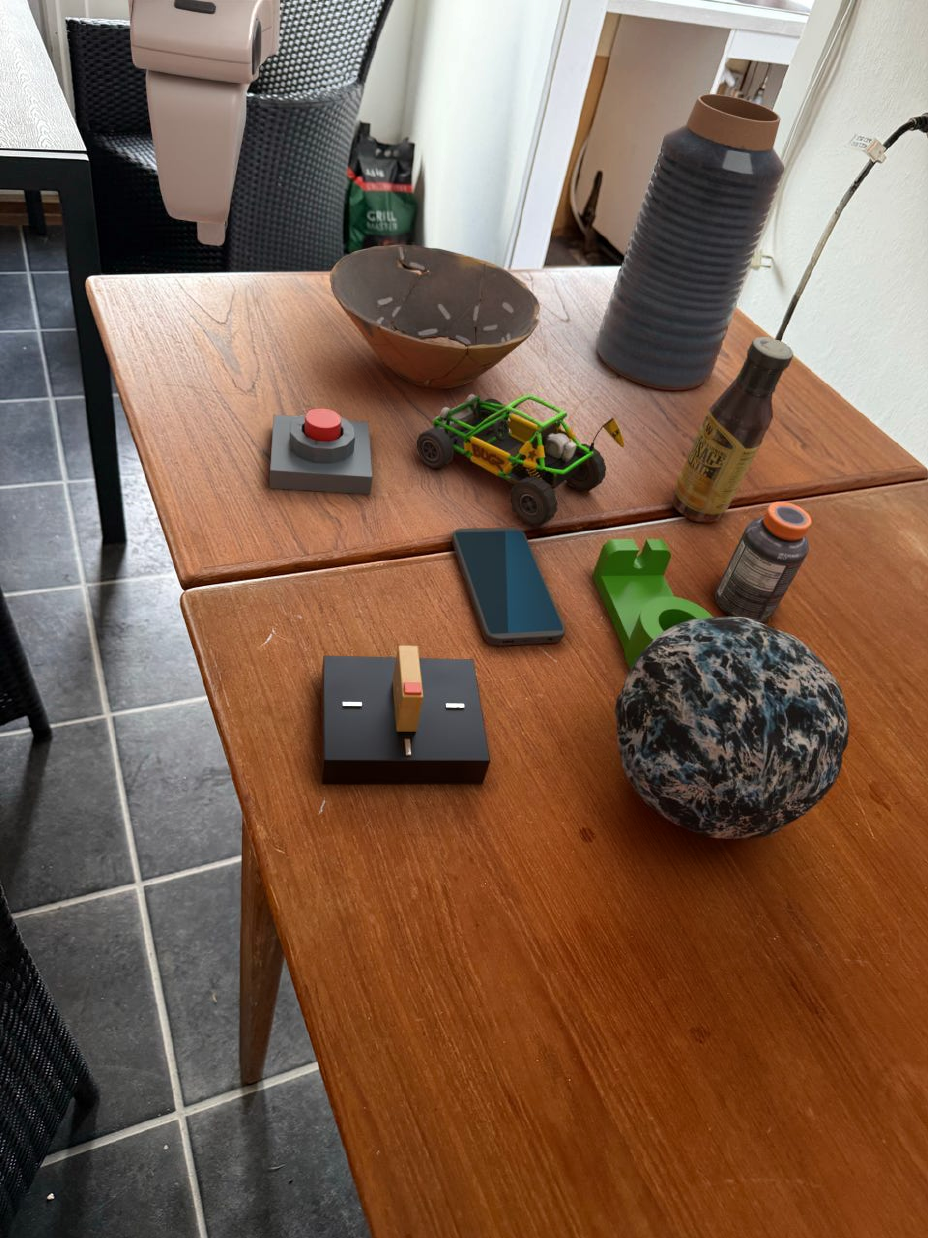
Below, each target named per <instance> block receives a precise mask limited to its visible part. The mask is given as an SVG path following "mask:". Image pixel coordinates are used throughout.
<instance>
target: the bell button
mask: <svg viewBox="0 0 928 1238" xmlns="http://www.w3.org/2000/svg"><path fill="white" fill-rule="evenodd" d="M305 414H306V415H305V430H304V431H305V434H306V436H307V437H308V438H310V439H313V440H315V441H322V442H330V441H334V440H337V439H338V438H339V437H340V432H341V417H342V416H341V415H340V414H339V413H338V412H336V411H334V410H332V409H330V408H323V407H322V408H321V407H319V408H313V409H310V410H309V411H307V412H306V413H305Z"/></svg>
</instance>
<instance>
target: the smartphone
mask: <svg viewBox="0 0 928 1238" xmlns="http://www.w3.org/2000/svg"><path fill="white" fill-rule="evenodd" d="M451 543H452V546H453V550H454V552H455V556H456V557H457V561H458V564H459V567H460V570H461V573H462V576H463V579H464V582H465V585H466V587H467V591H468V593H469V596H470V599H471V602H472V603H471V604H472V606H473V609H474V611H475V614H476V618H477V620H478V621H477V622H478V624H479V626H480V630H481V632H482V635H483V638H484V640H485V641H486V642H487V643H489V644H490V645H493V646H497V647H503V646H504V647H505V646H522V645H523V646H524V645H539V644H555V643H558V642H562V640H563V638H564V637H565V634H566V627H565V624H564V622H563V620H562V617H561V615H560V612H559V610H558V608H557V606H556V603H555V601H554V599H553V596H552V594H551V591H550V589H549V587H548V585H547V583H546V580H545V578H544V575H543V572H542V570H541V568H540V565H539V564H538V561H537V559H536V557H535V554H534V552H533V549H532V548H531V545H530V542H529V540H528V538H527V536H526V534H525V532H524V531H523V530H522V529H519V528H518V527H473V528H470V527H469V528H467V527H466V528H457V529H455V530H454V531H453V532H452V535H451Z"/></svg>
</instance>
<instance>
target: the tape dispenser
mask: <svg viewBox="0 0 928 1238" xmlns="http://www.w3.org/2000/svg"><path fill="white" fill-rule="evenodd" d="M639 552H640V549H639V547H638V545H637V543H636V541H635V539H634V538H612V539H610V540H608V541H606V542H605V543H603V545H602V547H601V550H600V553H599V556H598V558H597V562H596V564H595V566H594V569H593V572H592V574H591V577H592V579H593V580H594V583H595V586H596V588H597V591H598V592H599V595H600V597H601V599H602V602H603V604H604V606H605V608H606V611H607V613H608V615H609V618H610V620H611V622H612V624H613V627H614V629H615V632H616V634H617V636H618V639H619V641H620V643H621V645H622V647H623V650H624V659H625V662H626V665H627V666H628V668H629V669H630V670H631V668H632V666H633V664H634V662H635V661H636V659H637V658H638V656H639V655H640V654H641V653H642V652H643V651H644V650H645V649H646V648H647V647H648V646H649V644H650V643H651V642H652V641H653V640H654V639H655V638H656V637H657V636H659V635H660V634H661V633H663V632H664V631H666V630H668V629H669V628H671V627H673V626H675V625H678V624H680V623H683V622H686V621H689V620H693V619H705V618H713V617H714V616H713V615H712V614H711V613H709V612H708V611H707V610H706V609H705V608H704V607H701V606H700V605H699V604H697V603H696V602H692V601H691V600H689V599H685V598H682V597H677V596H675V594H674V593H673V591H672V589H671V587H670V585H669V583H668V582H667V580H666V578H665V572H666V570H667V568H668V566H669V563H670V561H671V559H672V553H671V550H669V548H668V546H667V544H666V542H665V540H663V539H661V538H646V539H645V542H644V544H643V547H642V549H641V552H640V553H639Z"/></svg>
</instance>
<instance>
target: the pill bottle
mask: <svg viewBox="0 0 928 1238" xmlns="http://www.w3.org/2000/svg"><path fill="white" fill-rule="evenodd" d="M811 526H812V518H811V515H809V513H808V512H807V511H806V510H804V509H803V508H801V506H798V505H796V504H794V503H791V502H787V501H775V502H772V503H771V504H769V505H768V507H767V509H766V511H765V513H764V514H763V516H760V517H757V518H755V519H753V520H751V521H750V522H749V523H747V525H746V527H745V529H744V531H743V533H742V535H741V536H740V539H739V541H738V543H737V545H736V547H735V549H734V551H733V553H732V556H731V557H730V560H729V562H728V564H727V565H726V568H725V570H724V572H723V574H722V576H721V578H720V580H719V582H718V584H717V587H716V589H715V593H714V598H715V601H716V603H717V604H718V606H719V608H720V609H721V610H722V611H723V612H724V613H725V614H727V616H733V617H744V618H749V619H752V620H755V621H757V622H760V623H762V624H764V623H766V622H767V621H769V620H771V618H772V617H773V616H774V614H775V613H776V611H777V609H778V607H779V605H780V603H781V602H782V600H783V598H784V596H785V595H786V593H787V592H788V589H789V587H790V586H791V584H792V582H793V580H794V579H795V577H796V576H797V573H798V572H799V570H800V568H801V566H802V565H803V562H804V561H805V559H806V558H807V555H808V553H809V551H810V544H809V539H808V537H807V534H808V532H809V530H810V528H811Z"/></svg>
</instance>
